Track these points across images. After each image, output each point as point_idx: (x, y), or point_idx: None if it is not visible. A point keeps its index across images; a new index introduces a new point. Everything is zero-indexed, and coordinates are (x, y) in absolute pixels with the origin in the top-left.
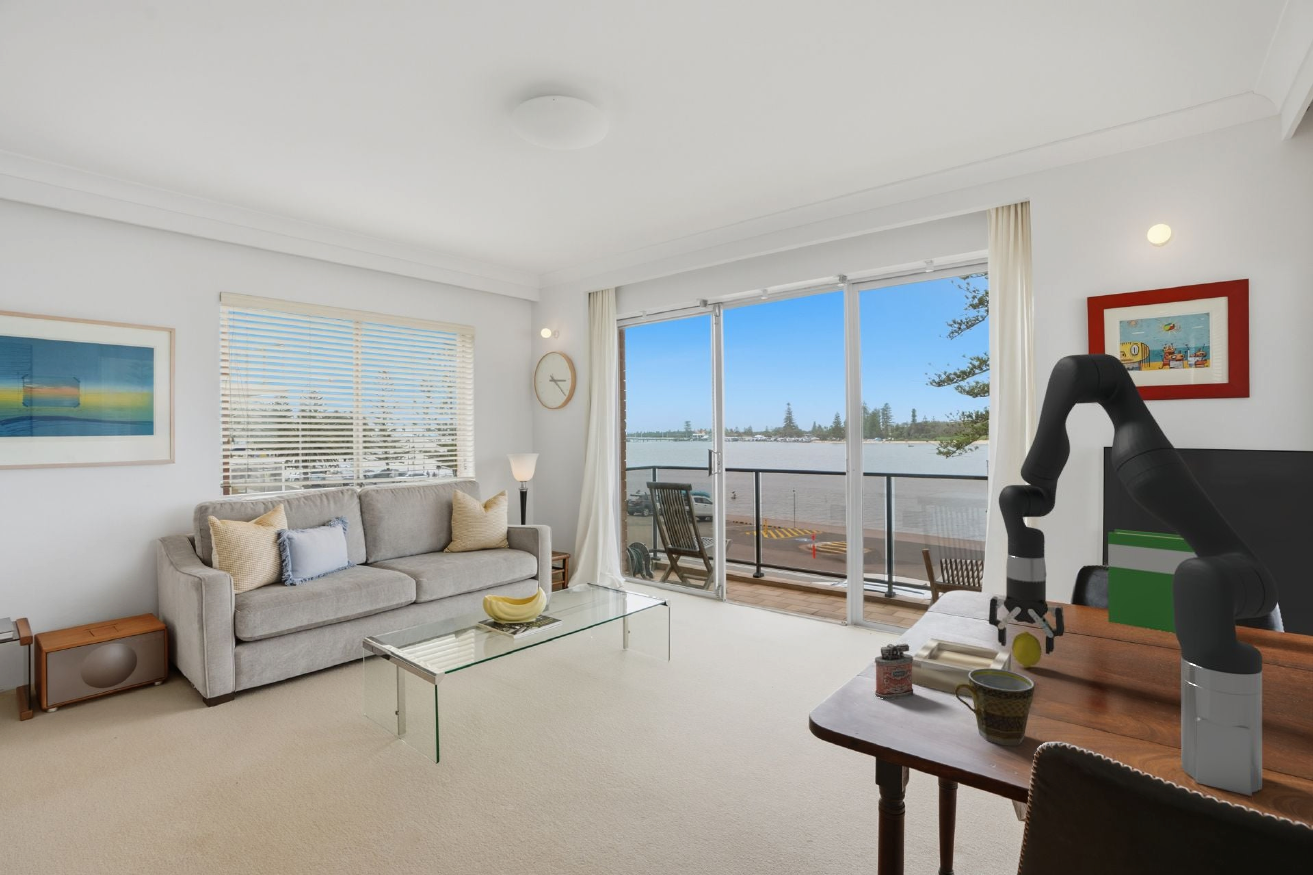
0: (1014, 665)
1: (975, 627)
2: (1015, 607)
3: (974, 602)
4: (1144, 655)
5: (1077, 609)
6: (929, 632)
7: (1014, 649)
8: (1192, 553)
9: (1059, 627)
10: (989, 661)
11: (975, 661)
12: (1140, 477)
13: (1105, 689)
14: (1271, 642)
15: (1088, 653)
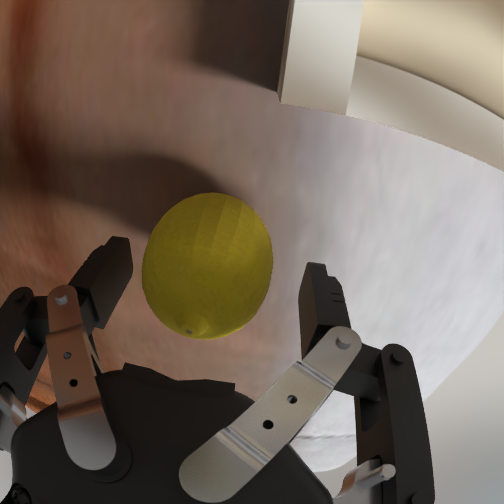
0: (265, 226)
1: (339, 415)
2: (232, 496)
3: (318, 461)
4: None
5: None
6: (445, 365)
7: (262, 234)
8: None
9: (3, 322)
10: (388, 20)
11: (446, 9)
12: None
13: (17, 146)
14: (28, 400)
15: (119, 364)
